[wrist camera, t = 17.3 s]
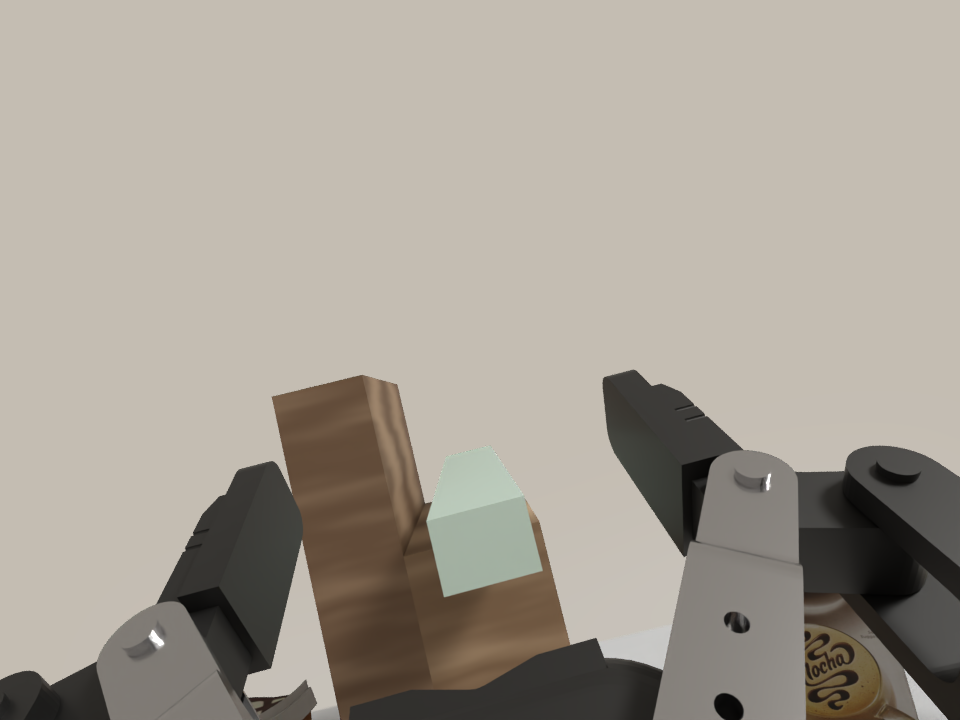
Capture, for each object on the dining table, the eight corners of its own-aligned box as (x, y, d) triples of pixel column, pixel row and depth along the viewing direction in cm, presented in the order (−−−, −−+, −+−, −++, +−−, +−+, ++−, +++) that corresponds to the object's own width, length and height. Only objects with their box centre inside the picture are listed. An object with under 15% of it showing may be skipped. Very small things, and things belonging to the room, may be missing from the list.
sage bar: (542, 570, 20) (524, 495, 20) (444, 597, 19) (426, 520, 20) (498, 478, 43) (490, 445, 44) (454, 490, 43) (446, 456, 43)
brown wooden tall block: (647, 952, 25) (494, 342, 28) (406, 1027, 24) (272, 396, 27) (582, 756, 39) (484, 363, 41) (427, 800, 38) (337, 398, 41)
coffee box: (770, 794, 32) (702, 545, 33) (764, 724, 38) (706, 514, 39) (952, 817, 28) (866, 532, 29) (914, 735, 34) (843, 500, 35)
